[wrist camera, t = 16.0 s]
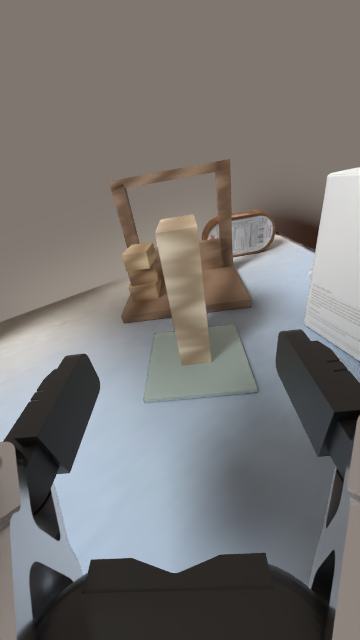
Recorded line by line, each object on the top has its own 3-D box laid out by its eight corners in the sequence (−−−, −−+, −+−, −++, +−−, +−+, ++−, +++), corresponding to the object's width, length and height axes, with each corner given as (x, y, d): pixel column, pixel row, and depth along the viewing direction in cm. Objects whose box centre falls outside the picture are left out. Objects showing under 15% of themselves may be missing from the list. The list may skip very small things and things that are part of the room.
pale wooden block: (181, 365, 23) (154, 233, 16) (181, 333, 28) (160, 219, 21) (211, 362, 23) (197, 226, 16) (206, 330, 27) (193, 214, 20)
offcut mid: (131, 286, 34) (127, 271, 33) (133, 273, 39) (129, 259, 38) (158, 281, 34) (154, 266, 33) (156, 268, 39) (153, 255, 38)
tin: (270, 247, 51) (272, 205, 46) (276, 251, 48) (279, 207, 43) (203, 259, 51) (199, 218, 46) (206, 263, 48) (202, 221, 44)
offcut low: (133, 301, 35) (128, 287, 34) (139, 285, 40) (135, 272, 39) (158, 298, 35) (155, 283, 34) (161, 282, 40) (158, 269, 39)
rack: (123, 323, 33) (75, 185, 23) (138, 283, 44) (111, 181, 35) (251, 306, 31) (254, 152, 22) (231, 270, 43) (228, 159, 34)
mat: (144, 403, 20) (143, 400, 20) (155, 335, 29) (154, 333, 29) (257, 392, 20) (257, 389, 19) (234, 326, 28) (234, 323, 28)
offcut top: (126, 271, 33) (121, 254, 32) (135, 259, 37) (131, 244, 36) (149, 268, 32) (145, 251, 31) (156, 257, 37) (152, 241, 35)
